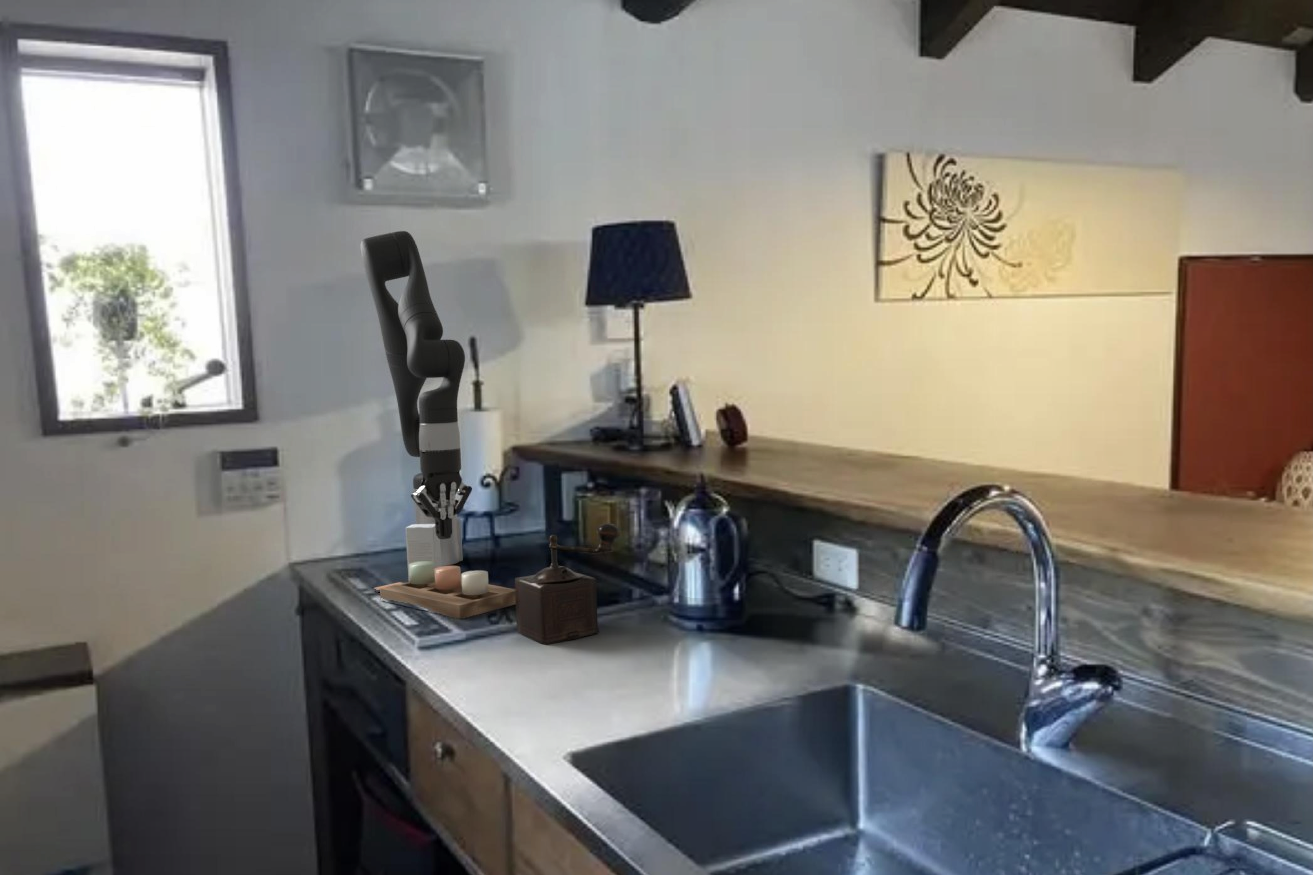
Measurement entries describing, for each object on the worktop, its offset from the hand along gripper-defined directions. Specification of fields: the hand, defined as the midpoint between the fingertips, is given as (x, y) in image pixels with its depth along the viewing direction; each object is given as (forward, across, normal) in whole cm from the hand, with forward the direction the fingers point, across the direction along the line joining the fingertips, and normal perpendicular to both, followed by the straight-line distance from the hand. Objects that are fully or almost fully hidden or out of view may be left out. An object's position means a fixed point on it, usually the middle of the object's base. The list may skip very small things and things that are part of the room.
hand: (444, 538), depth 199 cm
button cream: (+9, 0, +8) cm, 12 cm away
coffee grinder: (+13, 0, +34) cm, 36 cm away
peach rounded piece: (+9, 0, 0) cm, 9 cm away
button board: (+12, 0, 0) cm, 12 cm away
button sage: (+9, 0, -8) cm, 12 cm away
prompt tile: (+12, 0, -17) cm, 21 cm away
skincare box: (+12, -8, -18) cm, 23 cm away
